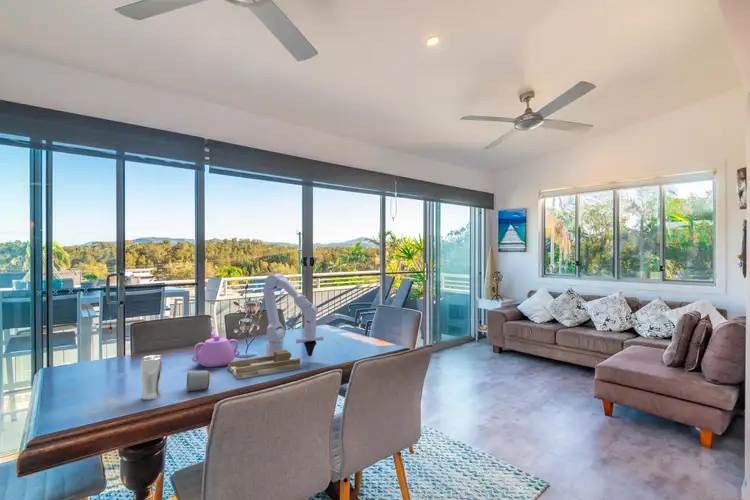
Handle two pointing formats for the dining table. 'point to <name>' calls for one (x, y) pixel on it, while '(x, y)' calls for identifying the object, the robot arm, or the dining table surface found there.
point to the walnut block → (281, 355)
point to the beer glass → (151, 376)
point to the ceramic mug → (197, 380)
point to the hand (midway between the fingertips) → (309, 355)
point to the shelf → (261, 366)
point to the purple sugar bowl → (215, 351)
